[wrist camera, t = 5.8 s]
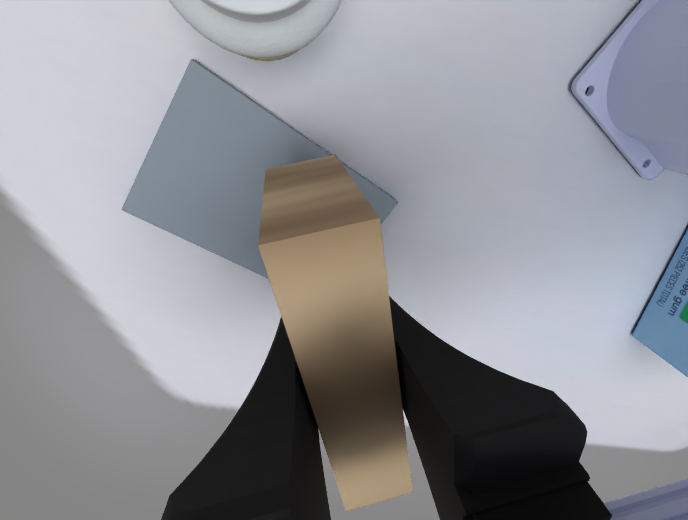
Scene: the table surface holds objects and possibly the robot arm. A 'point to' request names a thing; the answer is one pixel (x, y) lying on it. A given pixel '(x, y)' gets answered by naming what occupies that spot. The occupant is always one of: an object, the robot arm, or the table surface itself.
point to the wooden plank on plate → (338, 321)
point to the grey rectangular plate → (221, 168)
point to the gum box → (669, 313)
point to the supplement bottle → (258, 24)
